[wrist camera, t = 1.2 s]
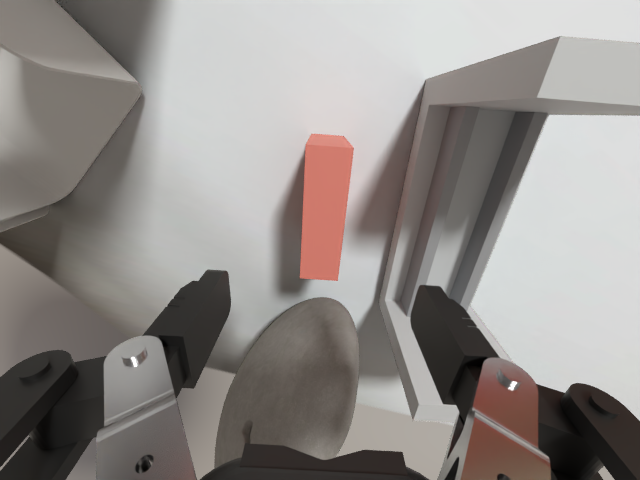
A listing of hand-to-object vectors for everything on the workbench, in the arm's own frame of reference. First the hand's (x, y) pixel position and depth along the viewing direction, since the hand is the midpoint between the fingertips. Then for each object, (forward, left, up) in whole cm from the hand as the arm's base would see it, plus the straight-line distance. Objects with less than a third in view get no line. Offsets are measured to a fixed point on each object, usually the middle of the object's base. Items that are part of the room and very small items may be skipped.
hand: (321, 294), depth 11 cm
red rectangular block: (0, 0, -17) cm, 17 cm away
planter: (+17, -2, -17) cm, 24 cm away
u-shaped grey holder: (+2, +13, -17) cm, 22 cm away
